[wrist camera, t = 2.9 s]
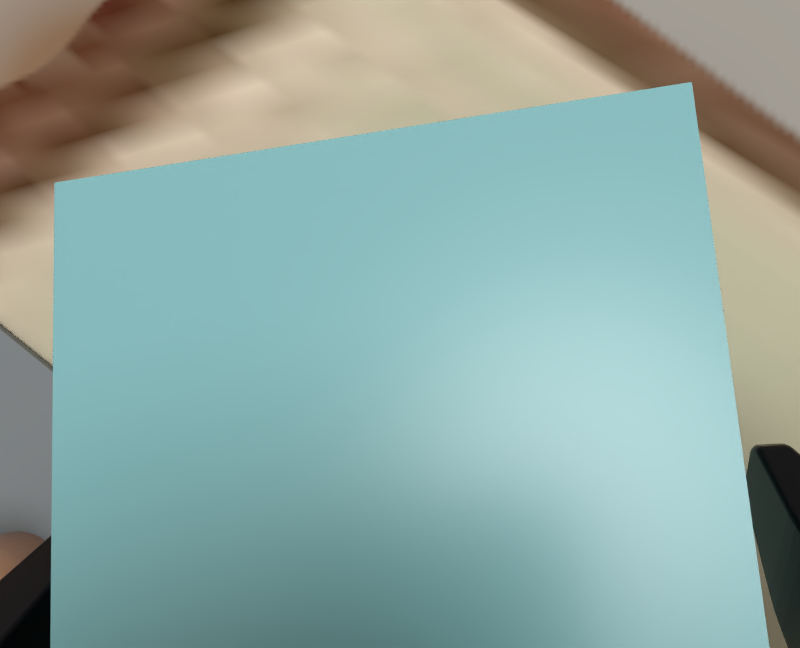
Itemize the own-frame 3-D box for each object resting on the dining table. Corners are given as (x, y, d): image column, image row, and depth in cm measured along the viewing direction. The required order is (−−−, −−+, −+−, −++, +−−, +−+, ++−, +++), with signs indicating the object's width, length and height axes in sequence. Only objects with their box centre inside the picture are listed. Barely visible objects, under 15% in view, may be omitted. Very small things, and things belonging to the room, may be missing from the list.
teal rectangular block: (626, 562, 17) (803, 896, 5) (363, 567, 18) (48, 840, 7) (597, 294, 18) (692, 83, 6) (349, 319, 19) (54, 182, 8)
